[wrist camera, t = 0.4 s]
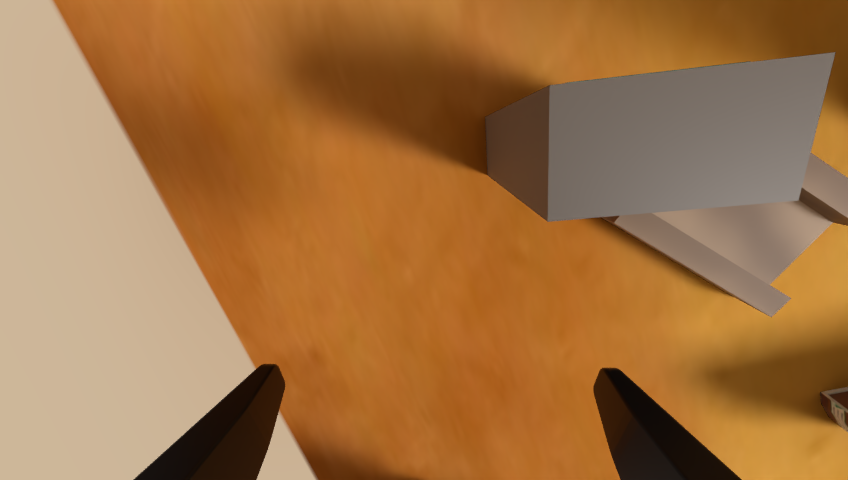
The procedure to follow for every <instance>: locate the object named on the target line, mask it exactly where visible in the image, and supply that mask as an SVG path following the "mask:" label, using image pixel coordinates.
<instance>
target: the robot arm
mask: <svg viewBox="0 0 848 480" xmlns="http://www.w3.org/2000/svg"><path fill="white" fill-rule="evenodd" d="M284 390H285V381H284V378H283V376H282V374H281V371H280V369H279V367H278V365H276V364H263V365H261V366H259V367H258V368H257V369H256V370H255V371H254V372H252V373H251V374H250V375H249V376H248V377H247V378H246V379H245V380H244V381H243V382H241V383H240V384H239V385H238V386H237V387H236V388H235V389H234V390H232V391H231V392H230V393H229V394H228V395H227V396H226V397H225V398H224V399H222V400H221V401H220V402H219V403H218V404H217V405H216V406H215V407H214V408H212V409H211V410H210V411H209V412H208V413H207V414H206V415H205V416H204V417H203V418H201V419H200V420H199V421H198V422H197V423H196V424H195V425H194V426H193V427H191V428H190V429H189V430H188V431H187V432H186V433H185V434H184V435H183V436H181V437H180V438H179V439H178V440H177V441H176V442H175V443H174V444H173V445H171V446H170V447H169V448H168V449H167V450H166V451H165V452H164V453H163V454H161V455H160V456H159V457H158V458H157V459H156V460H155V461H154V462H153V463H152V464H150V465H149V466H148V467H147V468H146V469H145V470H144V471H143V472H141V473H140V474H139V475H138V476H137V477H136V478H135V479H134V480H256V479H257V476H258V474H259V471H260V468H261V466H262V463H263V461H264V458H265V455H266V453H267V450H268V446H269V444H270V440H271V437H272V433H273V430H274V426H275V422H276V419H277V415H278V412H279V408H280V404H281V401H282V397H283V393H284ZM594 396H595V399H596V403H597V406H598V410H599V414H600V417H601V421H602V424H603V428H604V431H605V435H606V439H607V442H608V446H609V449H610V452H611V455H612V458H613V461H614V463H615V466H616V469H617V471H618V474H619V476H620V479H621V480H741V479H740V478H739V477H738V476H737V475H736V474H735V473H734V472H733V471H731V470H730V469H729V468H728V467H727V466H726V465H725V464H724V463H723V462H722V461H720V460H719V459H718V458H717V457H716V456H715V455H714V454H713V453H712V452H710V451H709V450H708V449H707V448H706V447H705V446H704V445H703V444H702V443H700V442H699V441H698V440H697V439H696V438H695V437H694V436H693V435H692V434H691V433H689V432H688V431H687V430H686V429H685V428H684V427H683V426H682V425H681V424H679V423H678V422H677V421H676V420H675V419H674V418H673V417H672V416H671V415H670V414H668V413H667V412H666V411H665V410H664V409H663V408H662V407H661V406H660V405H658V404H657V403H656V402H655V401H654V400H653V399H652V398H651V397H650V396H648V395H647V394H646V393H645V392H644V391H643V390H642V389H641V388H640V387H639V386H637V385H636V384H635V383H634V382H633V381H632V380H631V379H630V378H629V377H627V376H626V375H625V374H624V373H623V372H622V371H621V370H619V369H617V368H602V369H600V371H599V374H598V376H597V379H596V381H595V384H594Z"/></svg>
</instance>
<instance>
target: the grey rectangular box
mask: <svg viewBox="0 0 848 480" xmlns="http://www.w3.org/2000/svg"><path fill="white" fill-rule="evenodd" d="M834 56H835V52H833V53H825V54H816V55H808V56H799V57H790V58H782V59H773V60H764V61H756V62H741V63H733V64H724V65H715V66H707V67H698V68H690V69H681V70H672V71H664V72H655V73H646V74H638V75H629V76H621V77H612V78H603V79H595V80H586V81H577V82H569V83H565V84H557V85H549V86H547V87H545V88H543V89H541V90H539V91H537V92H535V93H533V94H531V95H529V96H527V97H525V98H523V99H521V100H519V101H517V102H515V103H512V104H510V105H508V106H506V107H504V108H502V109H500V110H498V111H496V112H494V113H492V114H490V115H488V116H486V117H485V126H486V150H487V174H488V176H489V177H491V178H492V179H493V180H494V181H496V182H497V183H498V184H500V185H501V186H502V187H504V188H505V189H506V190H507V191H509V192H510V193H511V194H513V195H514V196H515V197H516V198H518V199H519V200H520V201H522V202H523V203H524V204H526V205H527V206H528V207H529V208H531V209H532V210H533V211H535V212H536V213H537V214H539V215H540V216H541V217H542V218H544V219H545V220H546V221H548V222H549V221H561V220H573V219H585V218H597V217H609V216H620V215H632V214H644V213H656V212H668V211H680V210H692V209H704V208H716V207H728V206H740V205H751V204H763V203H775V202H787V201H799V196H800V192H801V188H802V184H803V180H804V176H805V172H806V168H807V164H808V160H809V156H810V152H811V148H812V144H813V140H814V136H815V132H816V128H817V124H818V120H819V116H820V112H821V108H822V104H823V100H824V96H825V92H826V88H827V84H828V80H829V76H830V72H831V68H832V64H833V60H834Z"/></svg>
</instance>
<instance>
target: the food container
mask: <svg viewBox="0 0 848 480" xmlns="http://www.w3.org/2000/svg"><path fill="white" fill-rule="evenodd" d="M820 396H821V404H822V406H823V408H824V410H825V411H826V413H827V415H828V417H830V418H831V419H832V420H833V421H835V422H836V423H837V424H838V425H839V426H841V427H842V428H843V429H844V430H846V431H847V432H848V387H844V388H839V389H833V390H828V391H823V392H820Z"/></svg>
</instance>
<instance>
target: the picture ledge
mask: <svg viewBox="0 0 848 480" xmlns="http://www.w3.org/2000/svg"><path fill="white" fill-rule="evenodd" d="M601 218H603V219H604V220H606V221H608V222H609V223H611V224H613V225H614V226H616V227H618V228H619V229H621V230H623V231H624V232H626V233H628V234H629V235H631V236H633V237H635V238H636V239H638V240H640V241H641V242H643V243H645V244H646V245H648V246H650V247H651V248H653V249H655V250H656V251H658V252H660V253H661V254H663V255H665V256H666V257H668V258H670V259H671V260H673V261H675V262H676V263H678V264H680V265H681V266H683V267H685V268H686V269H688V270H690V271H691V272H693V273H695V274H696V275H698V276H700V277H701V278H703V279H705V280H706V281H708V282H710V283H711V284H713V285H715V286H716V287H718V288H720V289H722V290H723V291H725V292H727V293H728V294H730V295H732V296H733V297H735V298H737V299H739V300H740V301H742V302H744V303H746V304H748V305H750V306H752V307H753V308H755V309H757V310H759V311H761V312H763V313H765V314H766V315H768V316H770V317H772V316H773V315H774V314H775V313H776V312H777V311H779V310H780V309H781V308H782V307H783V306H784V305H785V304H786V303H787V302H788V301H789V300H790V299H791V298H790V297H788V296H787V295H785V294H783V293H782V292H780V291H778V290H777V289H775V288H774V287H772V286H770V284H771V283H772V282H773V281H774V280H775V279H776V278H777V277H778V276H779V275H780V274H781V273H782V272H783V271H784V270H785V269H786V268H787V267H788V266H789V265H790V264H791V263H792V262H793V261H794V260H795V259H796V258H797V257H798V256H799V255H800V254H801V253H802V252H803V251H804V250H805V249H807V248H808V247H809V246H810V245H811V244H812V243H813V242H814V241H815V240H816V239H817V238H818V237H819V236H820V235H821V234H822V233H823V232H824V231H825V230H826V229H827V228H828V227H829V226H830V225H831V224H832V223H838V224H843V225H847V226H848V178H847V177H845V176H844V175H843V174H841V173H840V172H838V171H837V170H835V169H834V168H832V167H831V166H829V165H828V164H826V163H825V162H824V161H822V160H821V159H819V158H818V157H816V156H815V155H813V154H812V153H810V156H809V160H808V164H807V168H806V172H805V176H804V180H803V184H802V188H801V192H800V196H799V201H787V202H775V203H763V204H751V205H740V206H728V207H716V208H704V209H692V210H680V211H668V212H656V213H644V214H632V215H620V216H609V217H601Z"/></svg>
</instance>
